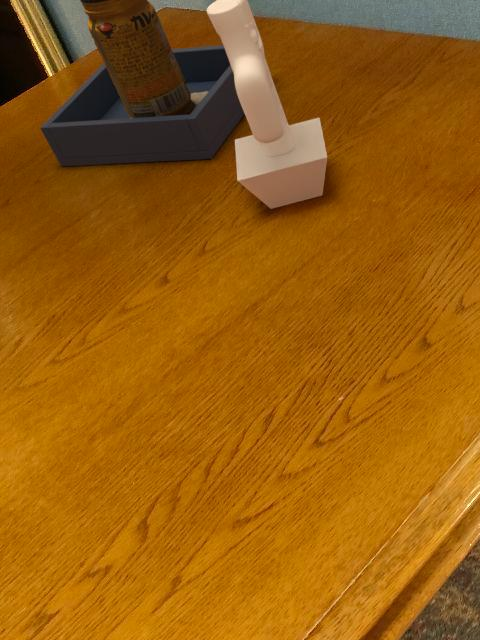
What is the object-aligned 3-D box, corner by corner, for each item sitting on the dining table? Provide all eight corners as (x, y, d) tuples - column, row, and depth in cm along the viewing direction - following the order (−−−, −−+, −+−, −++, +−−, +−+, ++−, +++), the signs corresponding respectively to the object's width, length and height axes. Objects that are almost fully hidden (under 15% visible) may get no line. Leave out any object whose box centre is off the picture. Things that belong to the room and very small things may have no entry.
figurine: (255, 229, 80) (176, 37, 69) (250, 174, 86) (177, -10, 75) (342, 205, 80) (278, 11, 69) (331, 152, 87) (270, -34, 75)
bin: (61, 166, 93) (39, 127, 90) (129, 91, 102) (112, 53, 99) (211, 159, 89) (194, 118, 86) (268, 81, 98) (255, 42, 96)
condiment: (145, 100, 98) (85, -32, 89) (225, 91, 96) (172, -44, 87) (117, 137, 93) (51, 2, 84) (201, 129, 92) (142, -9, 83)
